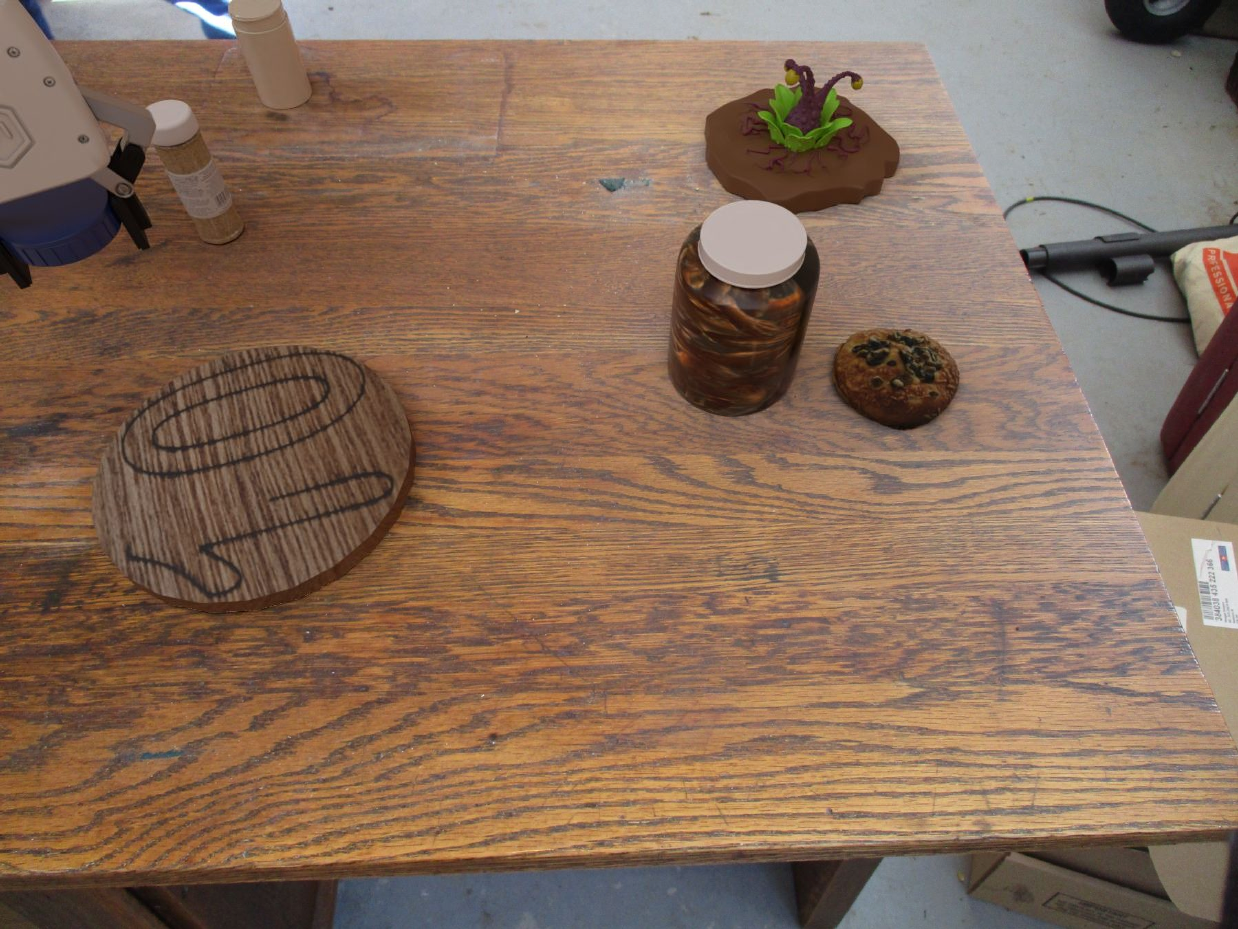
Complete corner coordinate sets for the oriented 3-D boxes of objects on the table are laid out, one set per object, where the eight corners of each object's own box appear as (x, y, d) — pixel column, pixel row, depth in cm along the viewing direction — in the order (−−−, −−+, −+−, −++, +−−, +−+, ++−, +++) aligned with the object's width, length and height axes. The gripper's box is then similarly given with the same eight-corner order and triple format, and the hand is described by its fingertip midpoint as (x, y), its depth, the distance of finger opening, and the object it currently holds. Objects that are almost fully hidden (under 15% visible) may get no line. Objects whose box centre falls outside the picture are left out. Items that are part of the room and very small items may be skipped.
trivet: (458, 535, 66) (454, 522, 64) (126, 669, 59) (113, 659, 58) (367, 325, 78) (361, 310, 76) (85, 417, 72) (73, 404, 70)
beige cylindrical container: (250, 95, 99) (214, 4, 90) (291, 74, 101) (261, -17, 92) (280, 115, 96) (247, 24, 88) (322, 93, 99) (294, 2, 90)
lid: (145, 210, 55) (132, 186, 54) (72, 279, 52) (56, 256, 50) (61, 186, 57) (46, 163, 55) (-16, 252, 53) (-35, 229, 51)
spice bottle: (220, 211, 87) (162, 92, 76) (254, 225, 86) (201, 105, 75) (189, 238, 85) (125, 118, 73) (224, 252, 84) (164, 133, 72)
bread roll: (877, 448, 70) (890, 405, 66) (803, 369, 77) (812, 326, 73) (981, 408, 73) (999, 365, 69) (901, 336, 80) (914, 293, 76)
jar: (811, 407, 73) (852, 280, 60) (681, 424, 72) (695, 299, 59) (775, 311, 79) (805, 178, 67) (655, 325, 78) (663, 193, 66)
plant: (672, 132, 95) (678, 35, 86) (814, 88, 100) (834, -8, 91) (767, 238, 85) (786, 142, 76) (919, 183, 90) (954, 86, 81)
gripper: (-321, 63, 37) (-52, 339, 52) (89, -31, 42) (228, 246, 56) (-310, -12, 41) (-62, 265, 55) (65, -90, 45) (201, 184, 60)
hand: (83, 254), depth 56 cm, fingers closed on lid, 6 cm apart
